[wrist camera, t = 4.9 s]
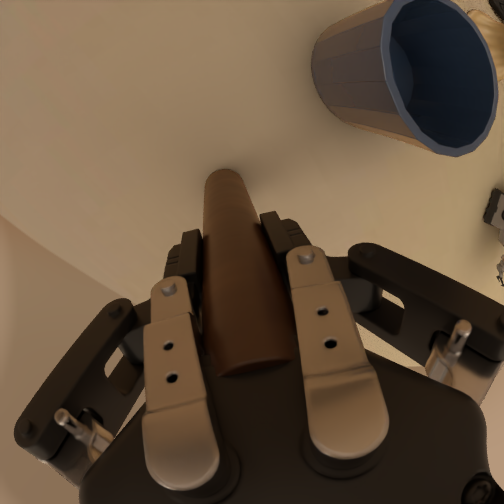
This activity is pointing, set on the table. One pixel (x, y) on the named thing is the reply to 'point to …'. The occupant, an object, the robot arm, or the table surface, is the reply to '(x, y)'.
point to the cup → (410, 74)
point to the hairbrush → (498, 7)
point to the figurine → (497, 222)
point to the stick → (241, 284)
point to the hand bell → (491, 38)
